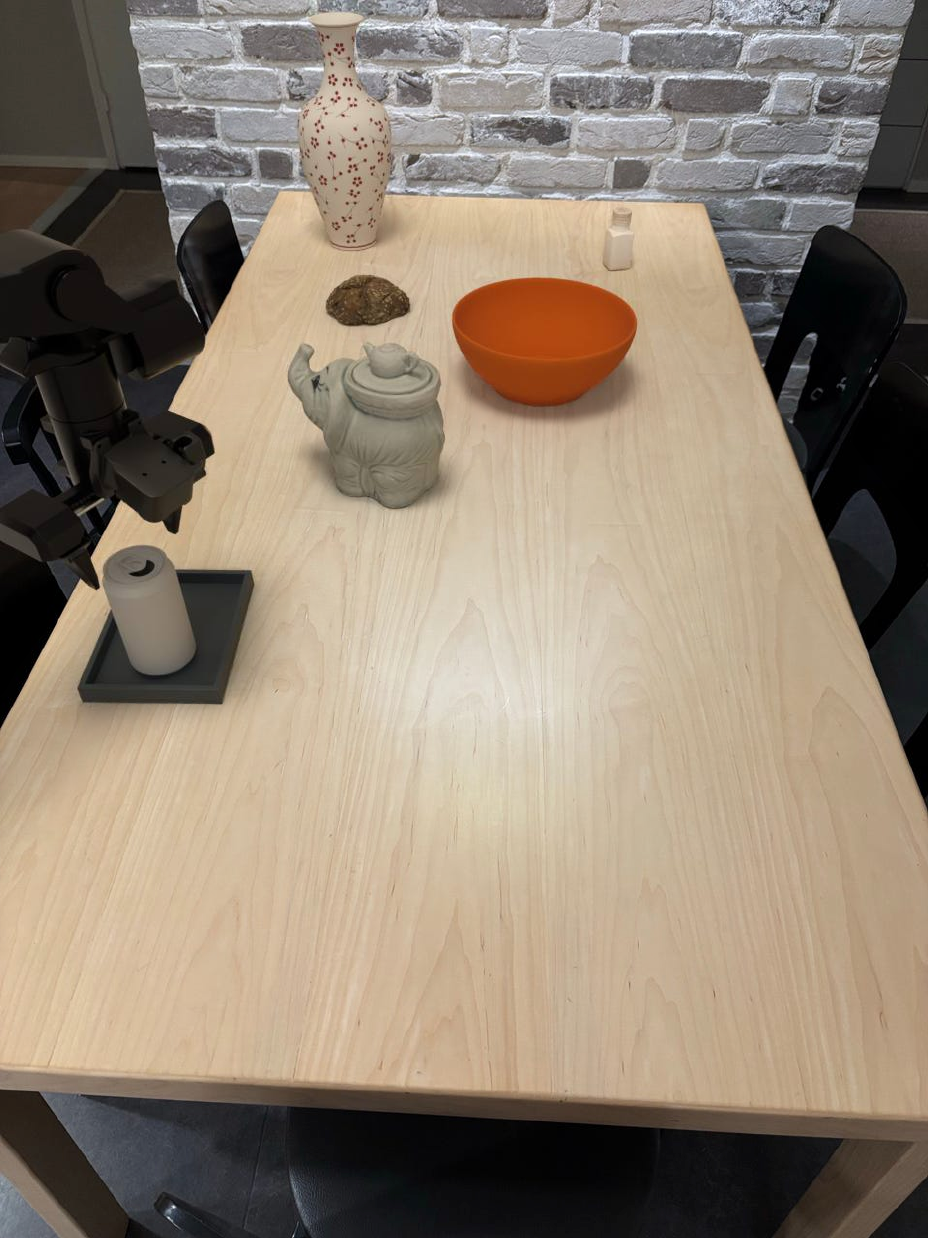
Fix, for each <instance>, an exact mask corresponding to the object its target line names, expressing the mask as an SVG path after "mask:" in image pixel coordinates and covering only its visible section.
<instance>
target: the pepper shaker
mask: <svg viewBox="0 0 928 1238" xmlns="http://www.w3.org/2000/svg"><path fill="white" fill-rule="evenodd" d="M632 215H633V210H632V209H631V208H629V207H624V206H618V207H615V208H613V209H612V216H611V226H609V227H608V228H606V230H605V237H604V246H603V254H602V263H603V265H604V266H605V267H606V268H607V269H608V270H610V271H617V270H626V269H630V266H631V260H632V254H633V253H632V252H633V244H634V237H635V233H634V231H633V230H632V228H630V227H631V223H632Z"/></svg>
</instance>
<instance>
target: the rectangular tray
mask: <svg viewBox="0 0 928 1238" xmlns="http://www.w3.org/2000/svg"><path fill="white" fill-rule="evenodd" d="M175 571H176V574H177V578H178V582H179V585H180V589H181V592H182V596H183V599H184V603H185V606H186V610H187V614H188V617H189V621H190V624H191V628H192V631H193V635H194V638H195V642H196V651H195V654H194V656H193V658H192V659H191V660H190V661H189V662H188V663H187V664H186V665H185V666H184V667H183V668H181V669H180V670H178V671H176V672H173V673H170V674H166V675H147V674H143V673H141V672H139V671H137V670H136V669H135V668H134V667H133V666H132V665H131V663H130V660H129V657H128V655H127V652H126V649H125V646H124V643H123V641H122V638H121V635H120V632H119V629H118V627H117V624H116V621H115V618H114V615H113V613H112V610H111V609H110V610H109V613H108V615H107V617H106V620H105V621H104V624H103V627H102V629H101V631H100V633H99V635H98V639H97V640H96V643H95V645H94V647H93V650H92V653H91V654H90V657H89V658H88V661H87V664H86V666H85V668H84V671H83V673H82V675H81V678H80V680H79V682H78V685H77V687H76V689H77V692H78V695H79V697H80V699H81V702H82V703H110V704H113V703H114V704H115V703H116V704H117V703H119V704H120V703H121V704H128V703H129V704H185V705H187V704H190V705H193V704H194V705H195V704H196V705H197V704H199V705H222V704H223V701H224V697H225V694H226V690H227V687H228V682H229V679H230V675H231V671H232V668H233V663H234V660H235V657H236V653H237V649H238V645H239V641H240V639H241V635H242V631H243V627H244V623H245V619H246V617H247V613H248V609H249V605H250V601H251V598H252V594H253V590H254V587H255V581H254V576H253V571H252V569H195V568H193V569H192V568H191V569H189V568H188V569H187V568H186V569H185V568H182V569H181V568H179V569H178V568H175Z"/></svg>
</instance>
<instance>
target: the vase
mask: <svg viewBox="0 0 928 1238" xmlns="http://www.w3.org/2000/svg"><path fill="white" fill-rule="evenodd" d="M363 21H364V16H363V15H362V14H360V13H355V12H348V11H347V12H345V11H330V12H322V13H317V14H314V15H311V16H308V18H307V22H308V23H310V24H311V25H312V26H313V27H314V28H315V31H316V33H317V36H318V40H319V44H320V48H321V52H322V61H323V62H322V63H323V75H322V81H321V85H320V87H319V90H318V91H317V93H316V94H315V95H314V97H313V98H311V99H310V100H308V102H306V103H305V104H304V105H303V106H302V108H301V110H300V112H299V114H298V117H297V144H298V150H299V154H300V161H301V165H302V171H303V176H304V177H305V180H306V182H307V185H308V187H309V190H310V192H311V195H312V197H313V199H314V202H315V204H316V207H317V209H318V212H319V215H320V217H321V219H322V221H323V222H322V223H323V224H324V227H325V229H326V231H327V235H328V237H329V244H330V245H331V246H332V247H333V248H335V249H337V250H342V251H361V250H367V249H369V248H371V247H373V246H375V245H376V243H377V231H378V227H379V223H380V219H381V214H382V211H383V210H382V209H383V206H384V201H385V198H386V193H387V189H388V185H389V180H390V176H391V169H392V166H391V165H392V127H391V121H390V115H389V113H388V111H387V110H386V108H385V107H384V105H383V104H382V103H380V102H379V101H377V100H376V99H375V98H373V97H372V96H370V95H369V94H368V93H367V92H366V91H365V89H364V88H363V86H362V85H361V82H360V79H359V76H358V73H357V69H356V60H355V43H356V34H357V30H358V29H357V28H358V26H359V24H360V23H362V22H363Z"/></svg>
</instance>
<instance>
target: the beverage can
mask: <svg viewBox="0 0 928 1238" xmlns="http://www.w3.org/2000/svg"><path fill="white" fill-rule="evenodd" d="M175 569H176V567H175V564H174V563H173V561H172V560H171V559H170V558H169V557H168V555H167V554H166V552H165V551H164V550H163V549H162V548H160V547H159V546H154V545H150V544H136V545H131V546H127V547H124V548H122V549H120V550H117V551H115V552H113V553H112V554H111V555H110V556H109V557H108V558H107V559H106V560H105V562H104V563H103V566H102V574H103V575H102V579H101V584H102V587H103V590H104V593H105V595H106V598H107V601H108V604H109V607H110V610H112V613H113V615H114V618H115V621H116V624H117V627H118V629H119V632H120V635H121V638H122V641H123V643H124V646H125V649H126V652H127V655H128V657H129V660H130V663H131V665H132V666H133V667H134V668H135V669H136V670H137V671H139V672H141V673H143V674H147V675H166V674H170V673H173V672H176V671H178V670H180V669H181V668H183V667H184V666H185V665H186V664H187V663H188V662H189V661H190V660H191V659H192V658H193V656H194V654H195V651H196V642H195V638H194V635H193V631H192V628H191V624H190V621H189V617H188V614H187V610H186V606H185V603H184V599H183V596H182V592H181V589H180V585H179V582H178V578H177V574H176V571H175Z"/></svg>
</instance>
